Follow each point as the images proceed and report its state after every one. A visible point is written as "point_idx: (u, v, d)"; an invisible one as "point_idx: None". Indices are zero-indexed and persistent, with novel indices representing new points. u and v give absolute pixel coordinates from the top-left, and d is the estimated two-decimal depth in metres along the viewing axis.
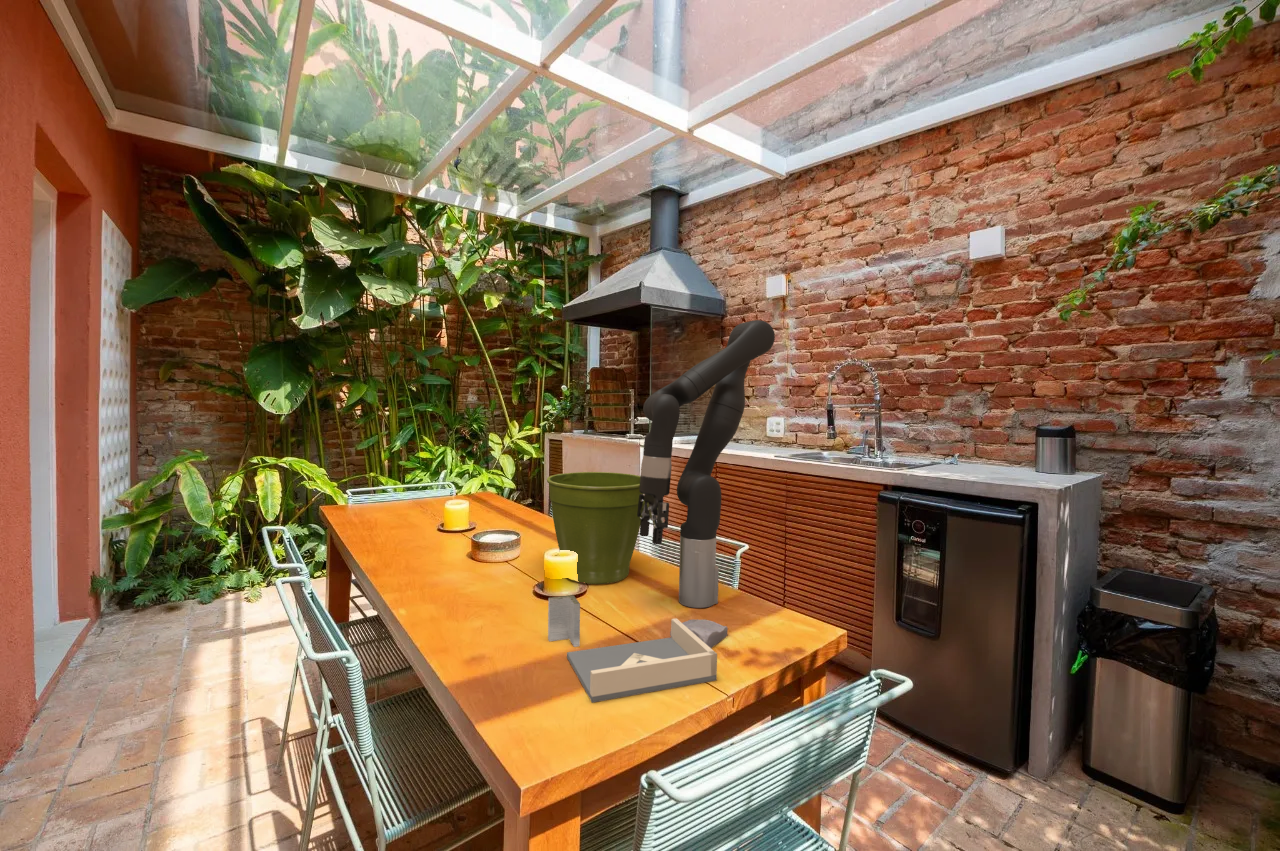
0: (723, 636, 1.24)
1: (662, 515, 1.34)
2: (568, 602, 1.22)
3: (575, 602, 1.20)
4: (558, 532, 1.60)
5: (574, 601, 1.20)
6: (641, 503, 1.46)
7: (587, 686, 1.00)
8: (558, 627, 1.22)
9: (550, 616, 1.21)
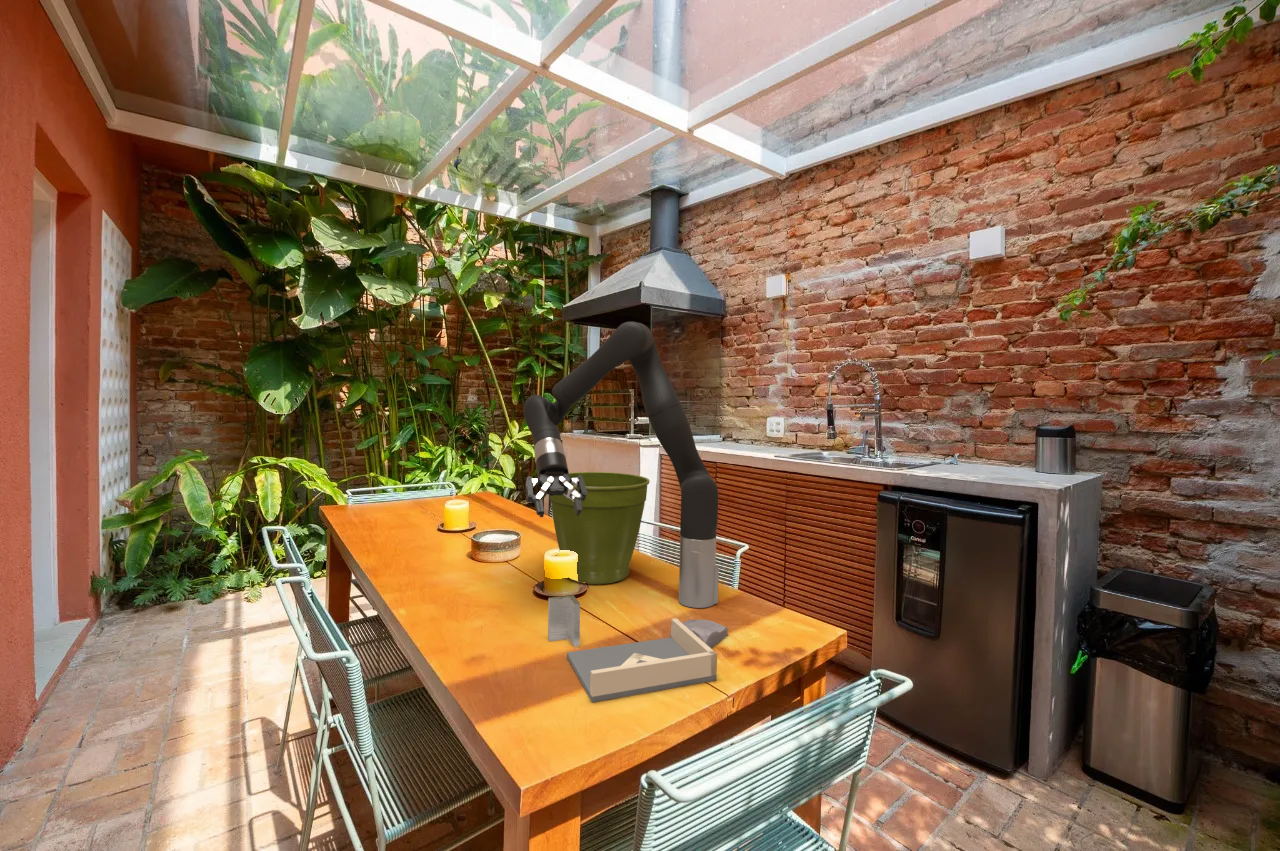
0: (723, 636, 1.24)
1: (526, 490, 1.34)
2: (568, 602, 1.22)
3: (575, 602, 1.20)
4: (558, 532, 1.60)
5: (574, 601, 1.20)
6: (577, 487, 1.40)
7: (587, 686, 1.00)
8: (558, 627, 1.22)
9: (550, 616, 1.21)
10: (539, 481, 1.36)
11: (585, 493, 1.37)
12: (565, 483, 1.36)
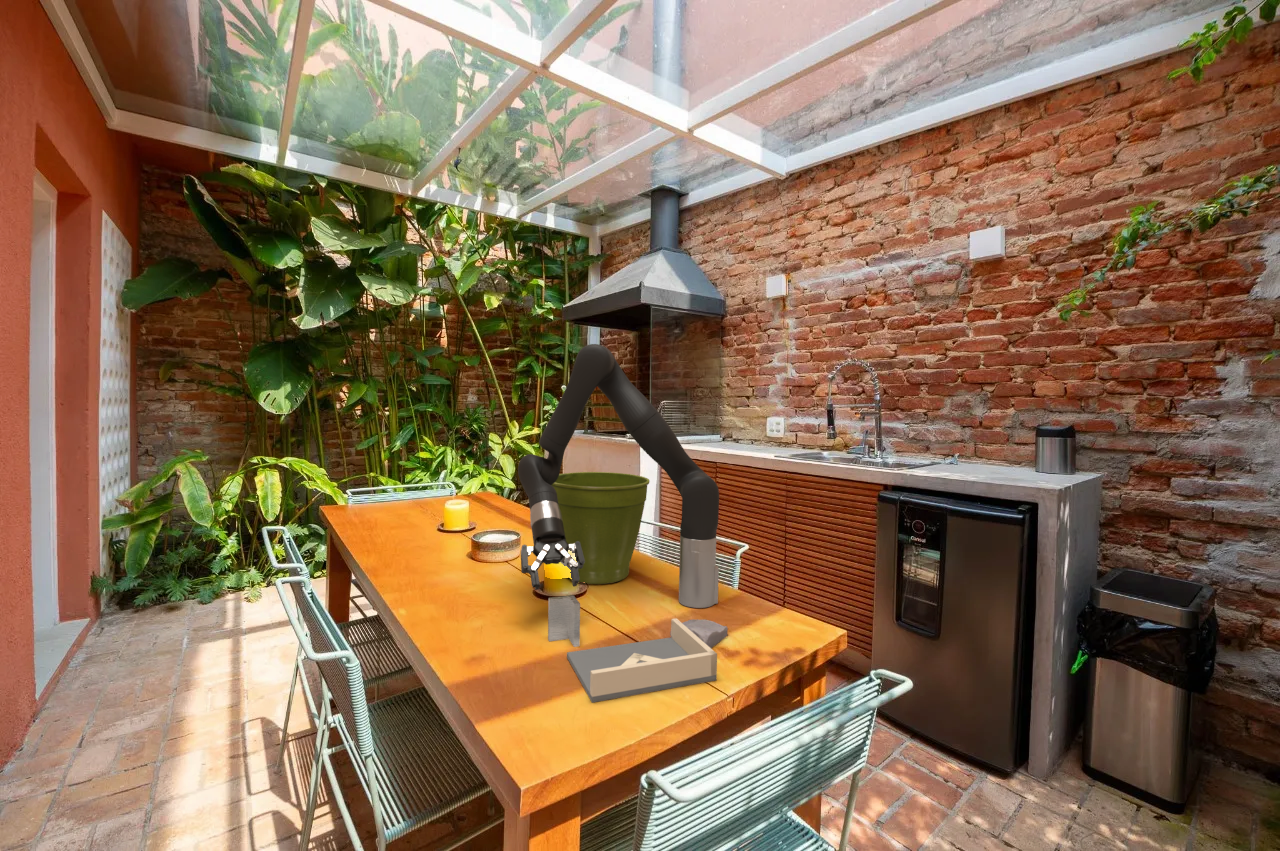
0: (723, 636, 1.24)
1: (521, 559, 1.29)
2: (568, 602, 1.22)
3: (575, 602, 1.20)
4: None
5: (574, 601, 1.20)
6: (575, 554, 1.34)
7: (587, 686, 1.00)
8: (558, 627, 1.22)
9: (550, 616, 1.21)
10: (535, 550, 1.30)
11: (583, 561, 1.31)
12: (562, 551, 1.31)
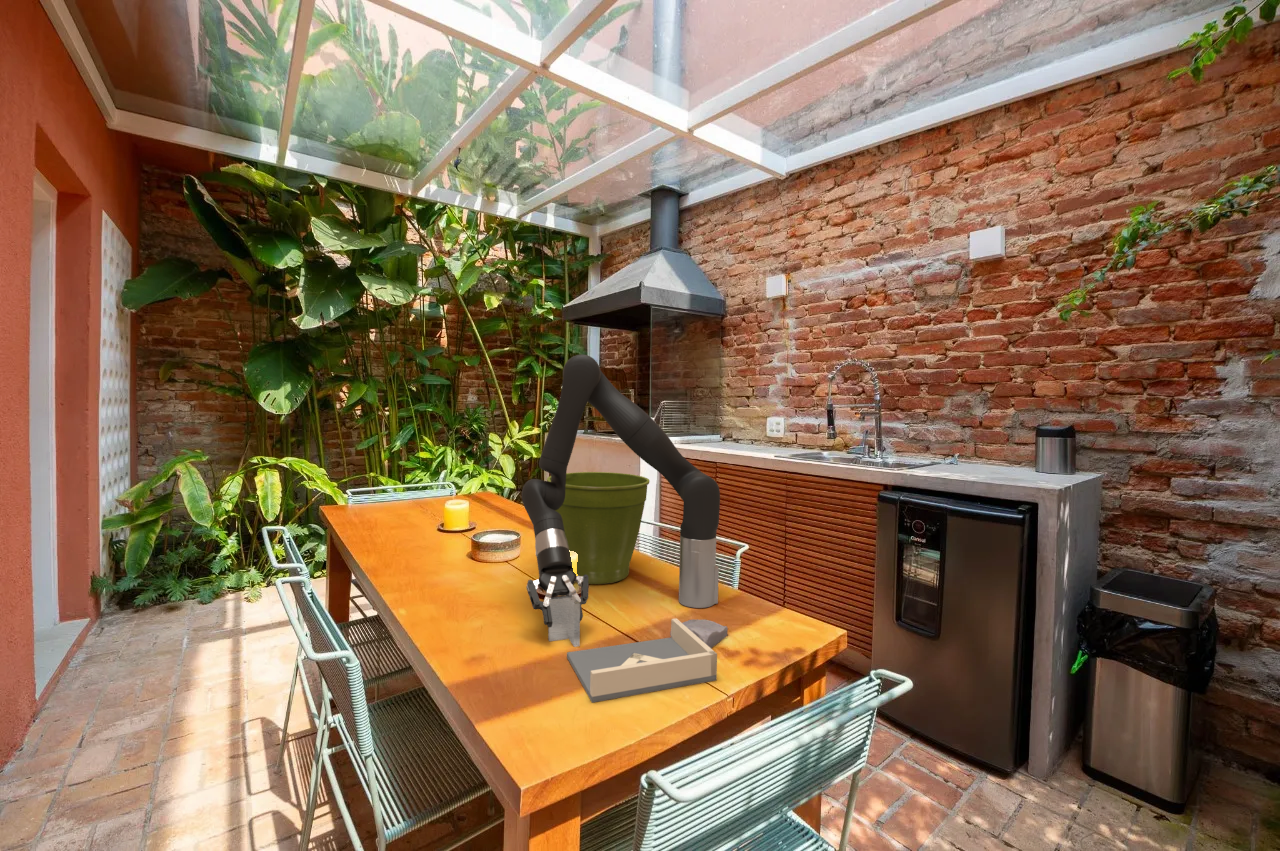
0: (723, 636, 1.24)
1: (530, 596, 1.22)
2: (568, 602, 1.22)
3: (575, 602, 1.20)
4: None
5: (574, 601, 1.20)
6: (581, 588, 1.27)
7: (587, 686, 1.00)
8: (558, 627, 1.22)
9: None
10: (541, 581, 1.24)
11: (586, 597, 1.24)
12: (567, 584, 1.24)
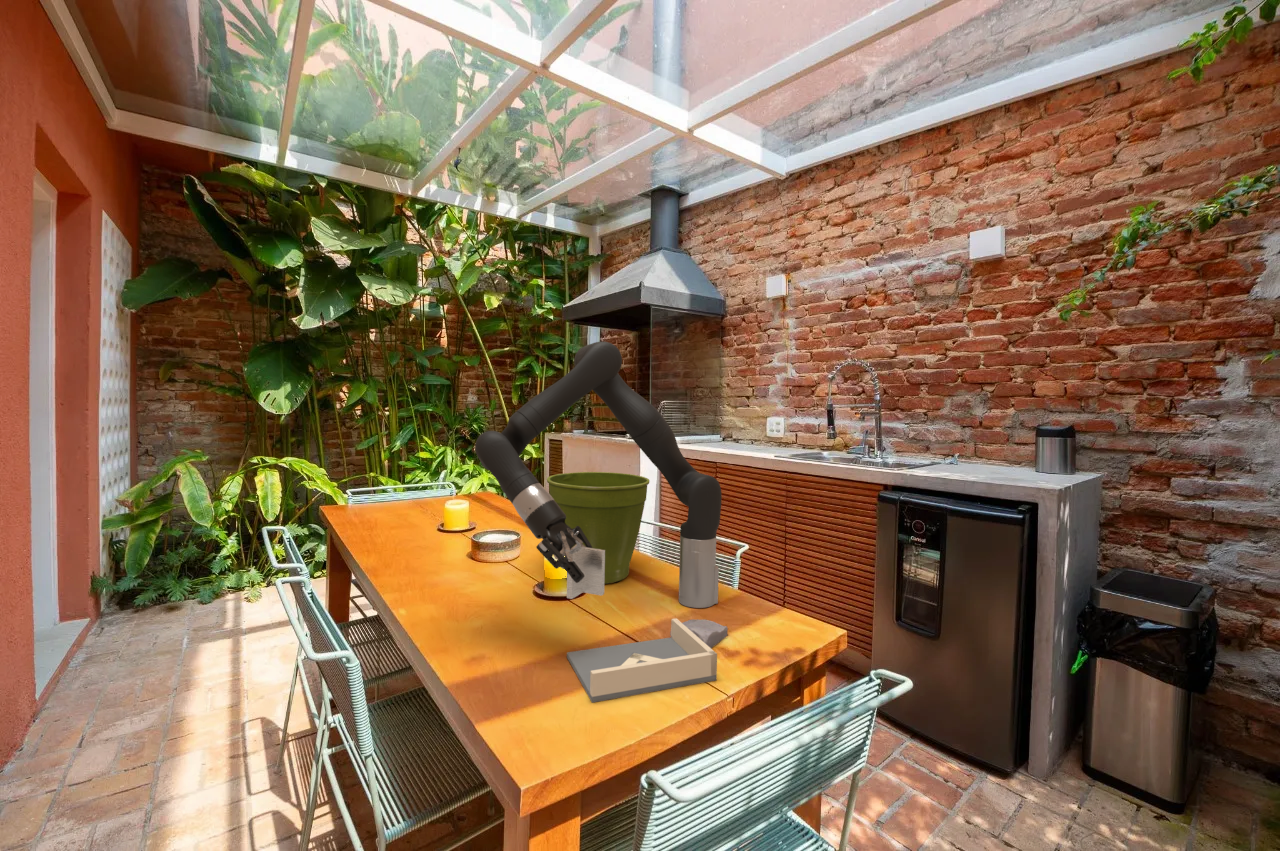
0: (723, 636, 1.24)
1: (548, 555, 1.10)
2: (583, 554, 1.15)
3: (597, 550, 1.15)
4: None
5: (595, 549, 1.15)
6: None
7: (587, 686, 1.00)
8: None
9: None
10: (552, 539, 1.12)
11: (591, 546, 1.19)
12: (573, 536, 1.17)
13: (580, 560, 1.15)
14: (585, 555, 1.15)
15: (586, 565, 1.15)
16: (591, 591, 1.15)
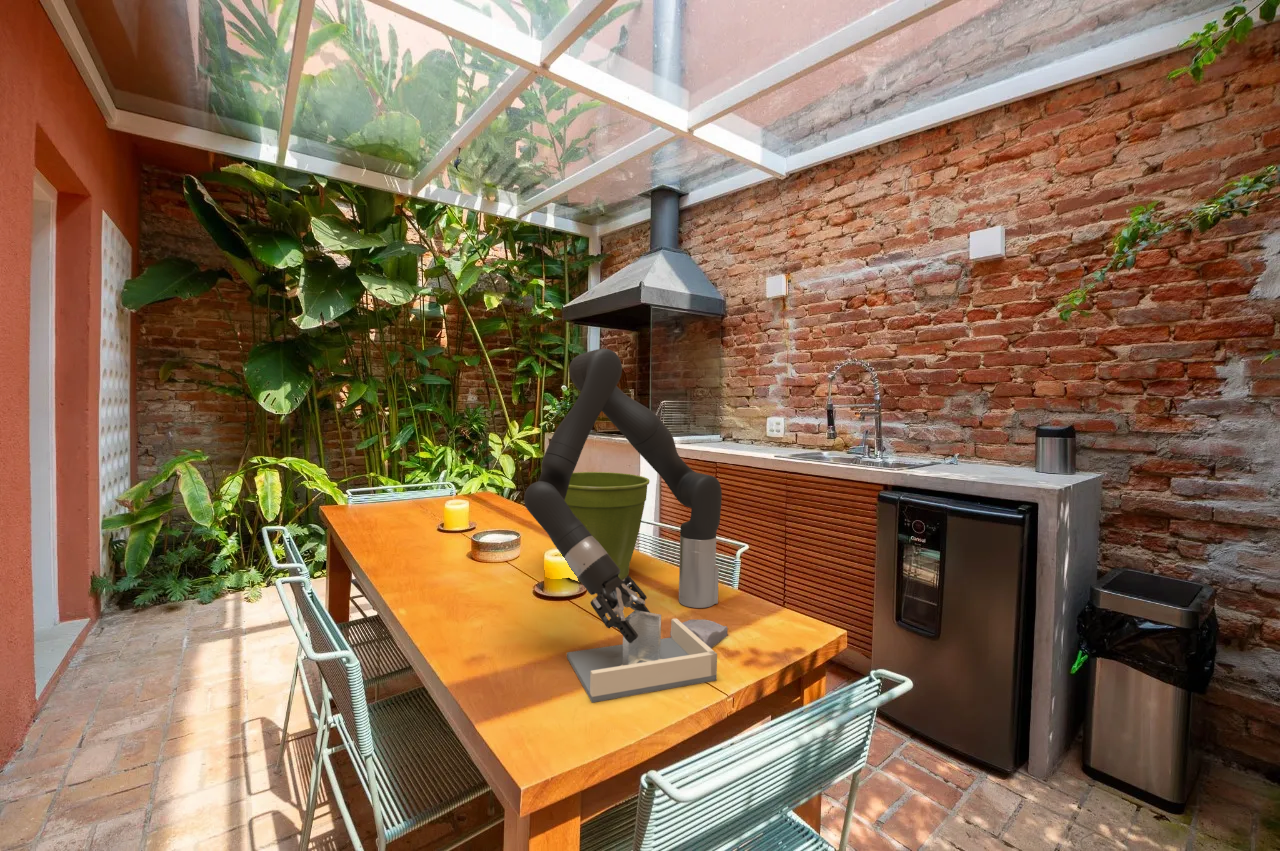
0: (723, 636, 1.24)
1: (601, 613, 1.05)
2: (638, 618, 1.11)
3: (653, 614, 1.10)
4: None
5: (651, 614, 1.10)
6: None
7: (587, 686, 1.00)
8: (632, 648, 1.09)
9: None
10: (608, 597, 1.07)
11: (645, 596, 1.16)
12: (629, 591, 1.12)
13: (635, 625, 1.10)
14: (640, 620, 1.11)
15: (641, 630, 1.11)
16: (647, 657, 1.11)
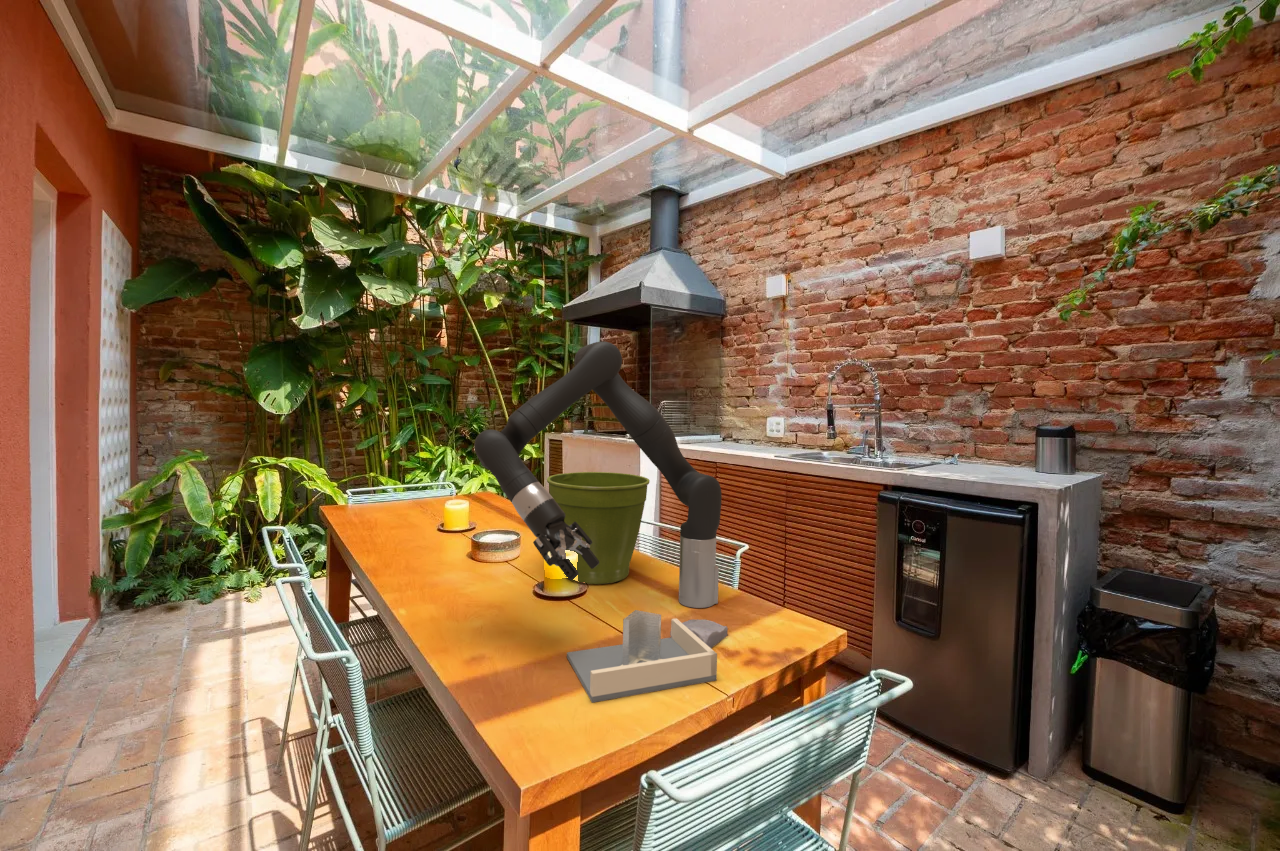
0: (723, 636, 1.24)
1: (543, 551, 1.09)
2: (638, 618, 1.11)
3: (653, 614, 1.10)
4: None
5: (651, 614, 1.10)
6: None
7: (587, 686, 1.00)
8: (632, 648, 1.09)
9: (629, 638, 1.07)
10: (551, 537, 1.12)
11: (591, 541, 1.21)
12: (573, 534, 1.17)
13: (635, 625, 1.10)
14: (640, 620, 1.11)
15: (641, 630, 1.11)
16: (647, 657, 1.11)
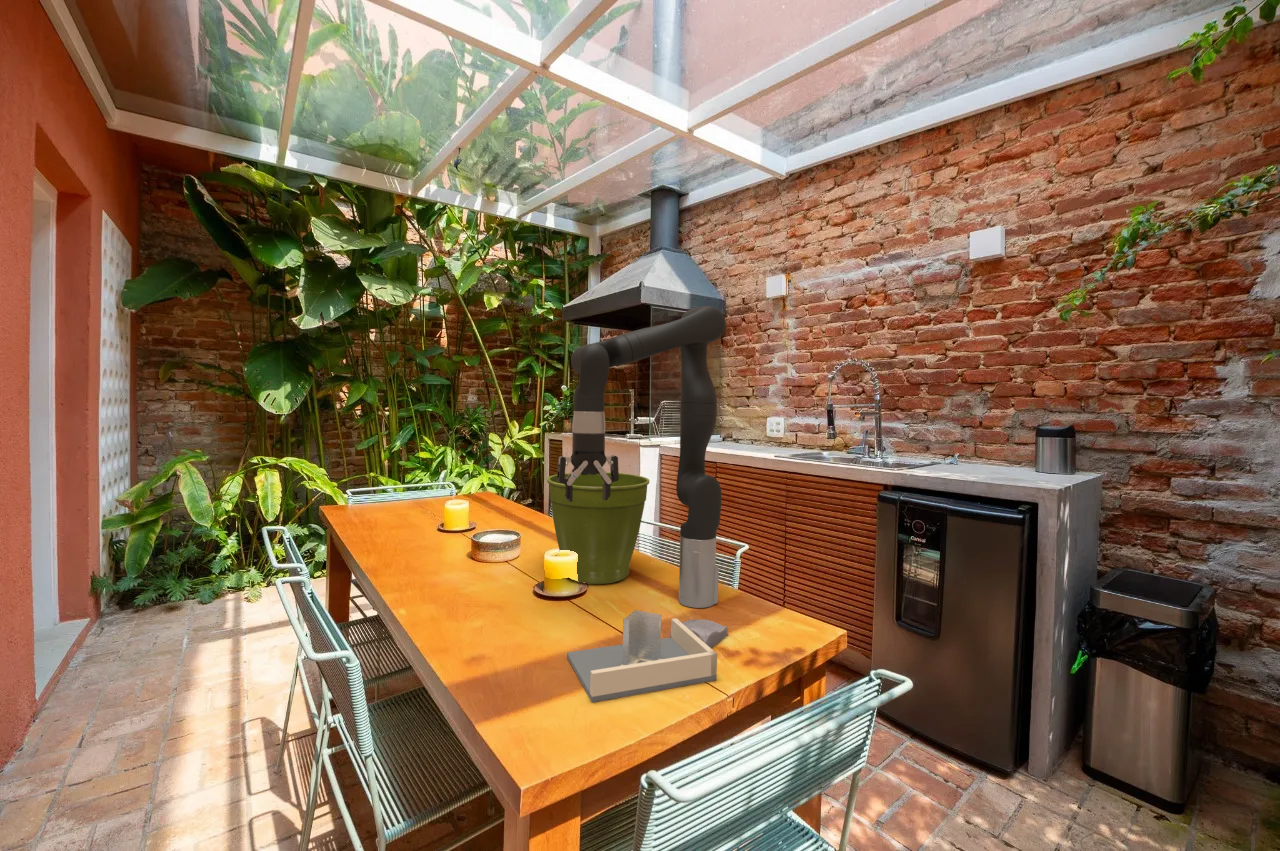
0: (723, 636, 1.24)
1: (558, 469, 1.30)
2: (638, 618, 1.11)
3: (653, 614, 1.10)
4: (558, 532, 1.60)
5: (651, 614, 1.10)
6: (610, 465, 1.35)
7: (587, 686, 1.00)
8: (632, 648, 1.09)
9: (629, 638, 1.07)
10: (573, 462, 1.30)
11: (616, 479, 1.33)
12: (599, 468, 1.31)
13: (635, 625, 1.10)
14: (640, 620, 1.11)
15: (641, 630, 1.11)
16: (647, 657, 1.11)
